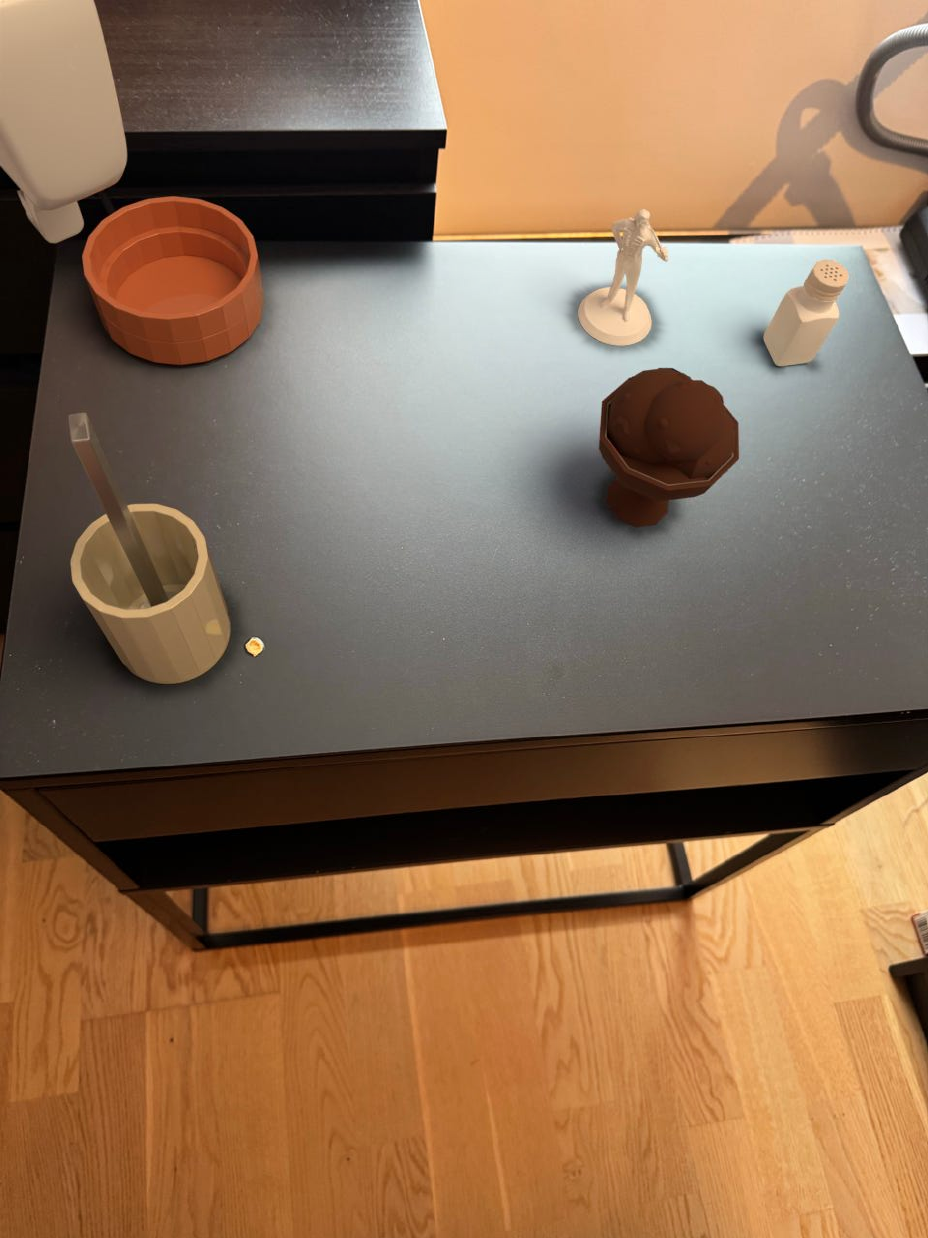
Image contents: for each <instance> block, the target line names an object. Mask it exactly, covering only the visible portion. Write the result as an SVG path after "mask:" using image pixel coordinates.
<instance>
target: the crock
mask: <svg viewBox="0 0 928 1238" xmlns="http://www.w3.org/2000/svg"><path fill="white" fill-rule="evenodd" d="M127 506H128V509H129V511H130V513H131V515H132V518H133V520H134V522H135V525H136V527H137V529H138V531H139V534H140V536H141V538H142V540H143V543H144V545H145V547H146V550H147V552H148V554H149V556H150V559H151V561H152V563H153V566H154V568H155V570H156V572H157V575H158V577H159V579H160V581H161V584H162V586H163V588H164V591H165V592H178V594H177V595H175V596H174V597H173V598H171V599H170V600H169V601H167V602H165V603H162V604H159V605H156V606H153V607H150V608H147V609H139V608H140V606H141V605H142V604H143V603H144V602H145V601H146V600H147V597H146V595H145V593H144V591H143V589H142V587H141V585H140V583H139V581H138V579H137V577H136V575H135V572H134V570H133V568H132V566H131V564H130V562H129V560H128V558H127V556H126V554H125V552H124V550H123V548H122V546H121V544H120V541H119V539H118V537H117V535H116V533H115V531H114V529H113V527H112V525H111V523H110V521H109V519H108V517H107V515H106V513H105V514H103V515H102V516H100V517H99V518H97V519H96V520H94V521H92V522H91V523H90V524H89V525H88V526H87V527H86V529H85V530H84V531H83V532H82V534H81V535H80V536H79V538H78V539H77V541H76V542H75V545H74V549H73V551H72V554H71V557H70V561H69V563H70V572H71V581H72V584H73V585H74V587H75V589H76V591H77V592H78V594H79V596H80V598H81V599H82V601H83V602H84V604H85V606H86V607H87V609H88V610H89V612H90V614H91V615H92V617H93V619H94V620H95V622H96V624H97V625H98V627H99V628H100V630H101V631H102V633H103V634H104V636H105V637H106V639H107V641H108V642H109V645H110V646H111V647H112V649H113V651H114V652H115V654H116V655H117V657H118V659H119V661H121V663H122V664H123V665H124V667H125V668H126V669H127V670H128V671H130V672H131V673H132V674H133V675H135V676H136V677H138V678H140V679H142V680H144V681H147V682H150V683H155V684H162V685H174V684H181V683H184V682H188V681H191V680H193V679H196V678H198V677H200V676H202V675H203V674H205V673H207V672H208V671H209V670H211V669H212V668H213V667H214V666H216V664H217V663H218V661H220V659H221V658H222V656H223V655H224V654H225V652H226V649H227V647H228V645H229V642H230V637H231V631H232V627H231V620H230V619H231V618H230V614H229V610H228V606H227V603H226V600H225V597H224V594H223V591H222V588H221V585H220V580H219V578H218V575H217V572H216V568H215V566H214V563H213V559H212V556H211V553H210V550H209V547H208V544H207V540H206V537H205V535H203V532H202V531H201V529H200V527H198V525H197V524H196V523H195V521H194V520H193V519H191V518H190V517H189V516H187V515H186V514H184V513H182V512H181V511H180V510H179V509H176V508H173V507H169V506H165V505H162V504H159V503H131V504H127Z"/></svg>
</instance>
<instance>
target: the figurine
mask: <svg viewBox="0 0 928 1238" xmlns="http://www.w3.org/2000/svg"><path fill="white" fill-rule="evenodd" d="M650 216H651V213H650V211H649V210H647V209H645V208H641V209H640V210H638V211H637V213H636V215H634V216H633V217H627V218H622V219H618V220H615V221H614V222H613V223H611V233H612V235H613V238H614V240H615V243H616V245H617V247H618V250H617V252H616V258H615V265H614V266H615V267H614V274H613V278H612V281H611V285H610V286H606V287H601V288H599V289H596V290H594V291H592V292H591V293H589V294H587V295H586V296H585V297H584V298H583V299H582V300H581V302H580V304H578V305H579V306H578V309H577V317H578V321H579V324H580V326H581V328H583V330H584V331H585V332H586V334H588V335H590V336H591V337H592V338H593V339H595V340H596V341H599V342H601V343H603V344H606V345H611V346H619V347H621V346H623V347H625V346H630V345H634V344H637V343H639V342H640V341H642V340H643V339H645V338H646V337H647V336H648V335H649V333H650V331H651V329H652V325H653V324H652V323H653V321H652V316H651V312H650V310H649V308H648V306H647V304H646V302H644V300H643V299H642V298H641V297H640V296H638V295H637V294H636V289H637V286H638V283H639V279H640V276H641V270H642V262H643V249H645V247H650V248H651V249H652V250H653V252H654V253H655V254H656V255H657V257H658V258H660V259H661V260H662V261H663V262H666V263H667V262H668V261H669V249H668V248H667V247H666V246H662V243H661V241H660V239H659V237H658V235H657V233H656V231H655V230H654V229H653V227H652V226H651V224H650V222H649V220H650ZM621 232H622V235H621ZM624 278H625V279H626V288H622V287H621V286H622V284H623V282H624V281H623V280H624Z"/></svg>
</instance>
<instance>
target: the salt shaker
mask: <svg viewBox="0 0 928 1238" xmlns="http://www.w3.org/2000/svg"><path fill="white" fill-rule="evenodd" d="M849 280H850V275H849V272H848V270H847V269H846V267H845V266H844V265H843V264H841V263H840V262H837V261H835V260H830V259H821V260H820V261H816V263H814V265H813V267H812V268H811V270H810V272H809V273H808V276H807V277H806V279H805V280H804V283H803V285H801V286H796V287H793V288H790V289H789V290H788V291H786V292H785V294H784V296H783V298H782V299H781V301H780V303H779V305H778V306H777V309H776V311H775V313H774V314H773V316H772V318H771V320H770V322H769V324H768V326H767V328H766V330H765V331H764V332H763V342H764V344H765V347H766V348H767V350H768V352H769V354H770V356H771V357H770V358H771V359H772V361H773V363H774V364H775V365H776V366H777V367H786V366H793V365H800V364H808V363H810V362H812V361H813V360H814V359H815V357H816V355H817V354H818V352H819V351H820V350H821V348H822V346H823V345H824V344H825V341H826V340H827V339H828V336H829V335H830V333H831V331H832V330H833V329H834V327H835V326H836V324H837V323H838V321H839V318H840V311H839V310H840V309H839V307H838V304H837V302H836V301H837V300H839V298H840V295H841V293H842V292H843V290H844V288H845V287H846V285H847V284H848V282H849Z"/></svg>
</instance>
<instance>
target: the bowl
mask: <svg viewBox="0 0 928 1238" xmlns="http://www.w3.org/2000/svg"><path fill="white" fill-rule="evenodd" d="M257 249H258V248H257V246H256V241H255V237H254V235H253V234H252V232H251V231H250V230H249V228H248V227H247V225H245V223H244V221H243V220H242V219H240V218H239V217H238V216H237V215H235V214H233V213H232V212H230V211H229V210H228V209H226V208H224V207H223V206H220V205H217V204H214V203H212V202H209V201H206V200H204V199H201V198H193V197H185V196H176V195H174V196H173V195H172V196H161V197H153V198H147V199H143V200H140V201H137V202H135V203H131V204H128V205H125V206H122V207H121V208H119V209H118V210H116V211H114V212H113V213H112V214H109V215H108V216H107V217H105V218H104V219H103V220H101V221H100V223H98V225H97V226H96V227H95V228H94V229H93V230H92V231H91V233H90V234H89V235H88V237H87V240H86V243H85V246H84V249H83V252H82V255H81V256H82V257H81V258H82V264H83V265H82V266H83V275H84V278H85V281H86V283H87V286H88V288H89V292H90V294H91V297H92V299H93V302H94V305H95V308H96V311H97V313H98V317H99V318H100V319H99V320H100V322H101V323H102V326H103V327H104V328H105V330H106V332H107V334H108V335H109V336H110V338H111V340H112V341H113V342H114V343H116V344H117V345H118V346H120V347H121V348H122V349H123V350H125V351H126V352H128V353H129V354H130V355H133V356H136V357H139V358H141V359H144V360H147V361H149V362H152V363H158V364H166V365H177V366H183V365H184V366H185V365H192V364H197V363H206V362H209V361H212V360H214V359H217V358H219V357H222V356H224V355H227V354H229V353H231V352H232V351H234V350H236V349H237V348H238V347H239V346H241V345H242V344H243V343H244V342H246V341H247V340H248V339H250V337H251V336H252V335H253V333H254V331H255V330H256V329H257V327H258V326H259V325H260V323H261V321H262V317H263V311H264V307H265V294H264V288H263V281H262V275H261V267H260V266H261V265H260V260H259V253H258V250H257Z"/></svg>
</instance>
